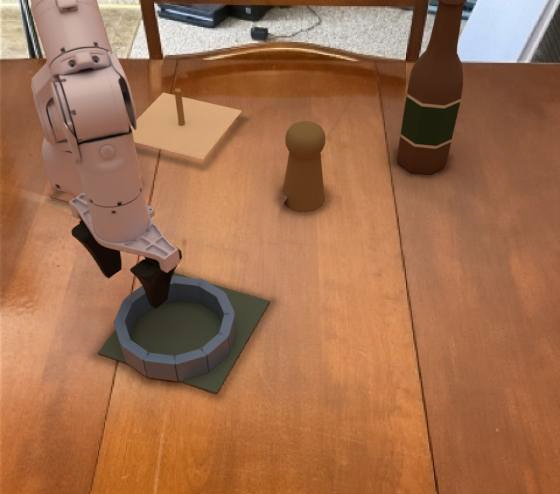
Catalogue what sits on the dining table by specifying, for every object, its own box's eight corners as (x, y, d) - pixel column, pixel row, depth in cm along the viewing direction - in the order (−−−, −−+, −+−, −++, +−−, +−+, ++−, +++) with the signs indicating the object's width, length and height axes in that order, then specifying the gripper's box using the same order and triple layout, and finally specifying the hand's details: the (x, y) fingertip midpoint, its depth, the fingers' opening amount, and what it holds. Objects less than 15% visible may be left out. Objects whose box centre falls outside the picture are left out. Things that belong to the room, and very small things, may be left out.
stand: (120, 146, 103) (111, 104, 97) (164, 100, 111) (158, 58, 105) (203, 168, 99) (199, 124, 94) (242, 119, 108) (240, 76, 102)
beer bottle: (455, 155, 102) (496, -16, 83) (434, 182, 97) (471, 8, 79) (408, 139, 104) (437, -31, 85) (385, 165, 100) (410, -8, 81)
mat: (97, 354, 77) (97, 352, 77) (160, 270, 86) (160, 268, 86) (216, 394, 74) (216, 392, 74) (269, 302, 83) (269, 300, 82)
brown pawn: (320, 214, 93) (325, 143, 84) (277, 208, 94) (277, 137, 85) (327, 187, 97) (332, 117, 88) (286, 182, 97) (287, 111, 89)
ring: (96, 341, 78) (90, 323, 76) (177, 279, 85) (174, 261, 82) (178, 400, 73) (175, 383, 71) (257, 329, 80) (257, 311, 77)
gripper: (194, 198, 66) (206, 296, 77) (94, 144, 72) (118, 242, 83) (142, 235, 63) (162, 332, 74) (42, 175, 69) (73, 274, 79)
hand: (136, 287), depth 78 cm, fingers open, 7 cm apart
